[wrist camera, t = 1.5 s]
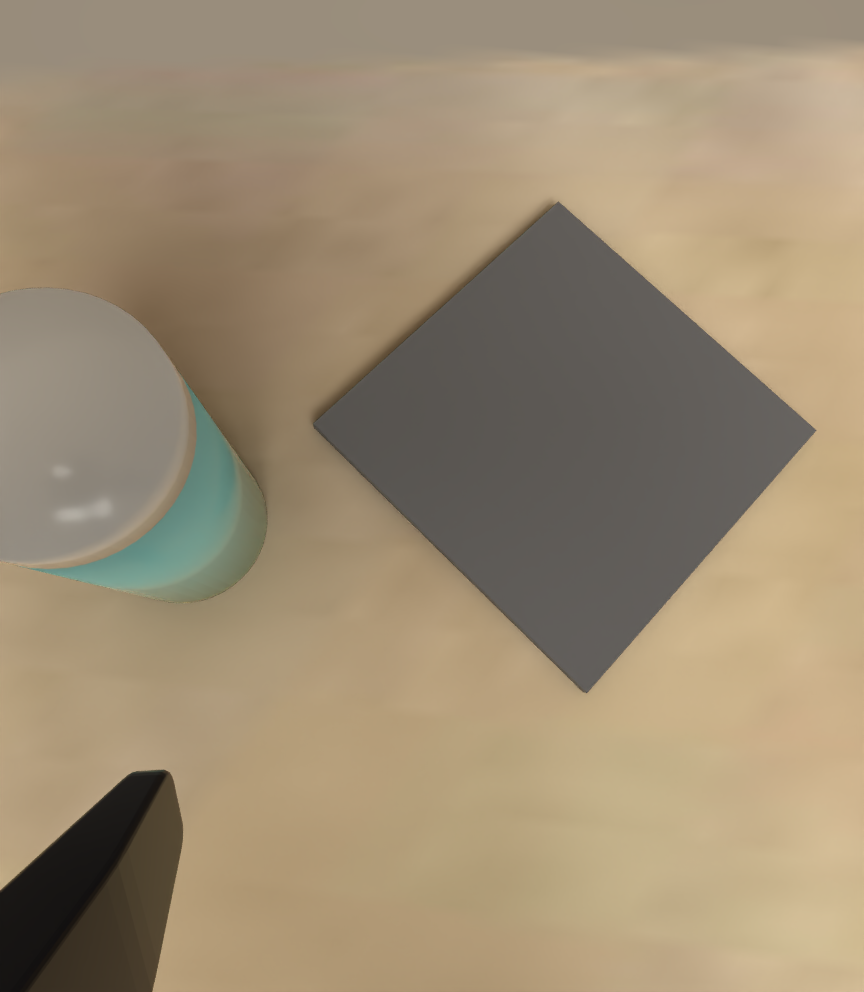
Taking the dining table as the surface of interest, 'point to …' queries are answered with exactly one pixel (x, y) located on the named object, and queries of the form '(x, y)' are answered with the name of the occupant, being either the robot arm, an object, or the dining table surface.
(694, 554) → the rubber mat
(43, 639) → the dining table surface
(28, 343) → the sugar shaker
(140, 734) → the dining table surface
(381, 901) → the dining table surface
